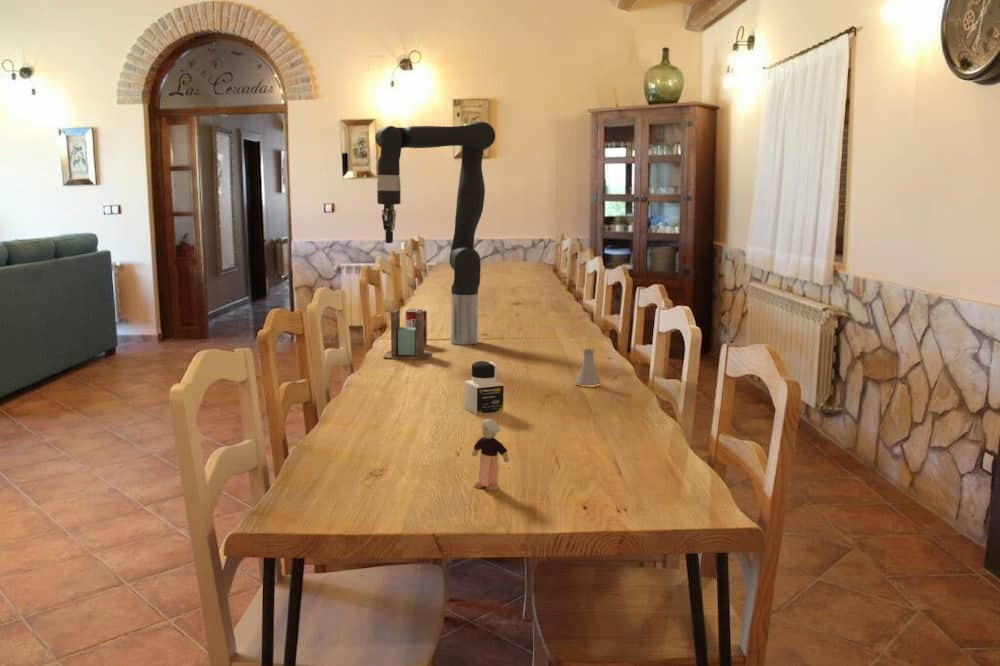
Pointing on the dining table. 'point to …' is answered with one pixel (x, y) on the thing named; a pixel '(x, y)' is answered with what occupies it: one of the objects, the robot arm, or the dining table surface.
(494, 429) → the grandmother figurine
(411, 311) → the soda can
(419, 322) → the brown wooden holder
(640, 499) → the dining table surface
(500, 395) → the medicine bottle
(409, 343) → the block
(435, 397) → the dining table surface
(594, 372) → the flask
